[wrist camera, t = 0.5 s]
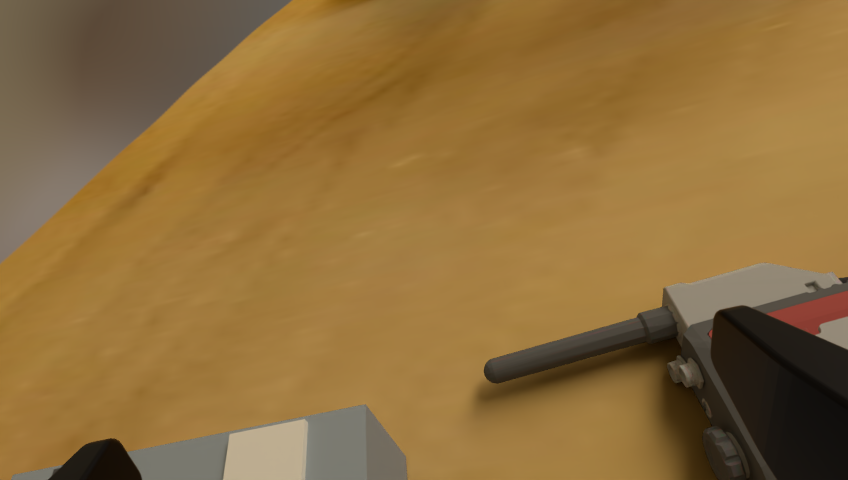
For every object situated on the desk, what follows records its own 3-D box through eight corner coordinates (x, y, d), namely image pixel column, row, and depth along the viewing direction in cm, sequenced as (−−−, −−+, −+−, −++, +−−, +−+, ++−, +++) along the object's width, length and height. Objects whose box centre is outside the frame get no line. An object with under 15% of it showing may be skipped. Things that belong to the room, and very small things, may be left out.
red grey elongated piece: (946, 234, 24) (484, 366, 26) (995, 156, 21) (463, 312, 23) (1159, 433, 18) (544, 588, 20) (1272, 367, 15) (527, 559, 17)
